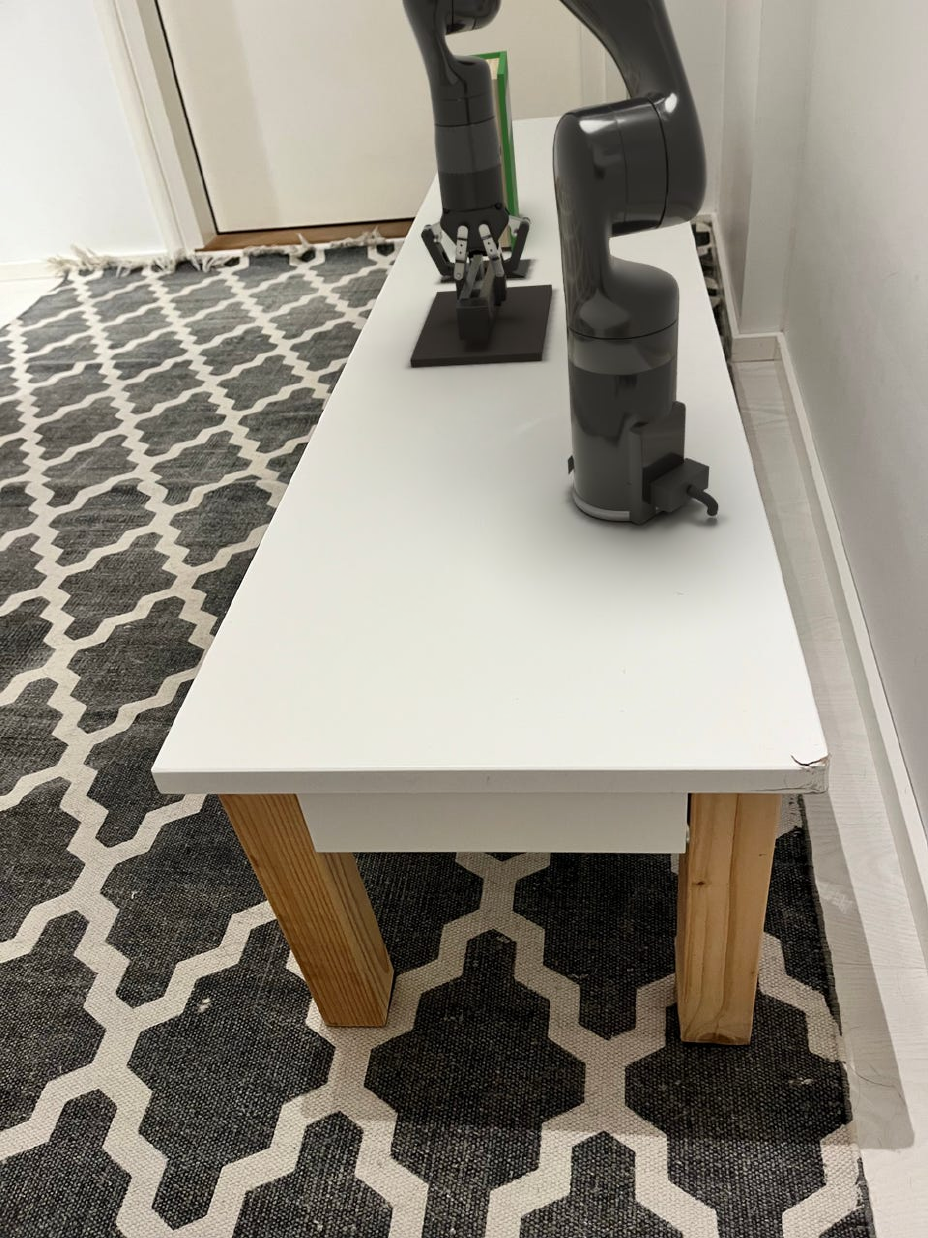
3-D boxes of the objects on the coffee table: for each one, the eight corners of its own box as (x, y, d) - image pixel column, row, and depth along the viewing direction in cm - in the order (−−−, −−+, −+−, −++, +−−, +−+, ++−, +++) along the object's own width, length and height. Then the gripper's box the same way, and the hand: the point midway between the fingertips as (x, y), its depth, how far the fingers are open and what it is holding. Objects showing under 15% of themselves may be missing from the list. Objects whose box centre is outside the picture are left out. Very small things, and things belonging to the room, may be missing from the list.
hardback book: (517, 251, 146) (503, 73, 131) (469, 256, 147) (449, 79, 132) (519, 215, 160) (506, 50, 145) (475, 219, 160) (457, 56, 145)
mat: (541, 360, 115) (541, 352, 115) (411, 367, 118) (410, 359, 117) (552, 291, 132) (551, 283, 131) (437, 298, 135) (436, 291, 134)
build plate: (440, 283, 139) (435, 251, 137) (449, 265, 145) (445, 234, 142) (525, 278, 137) (522, 245, 134) (531, 260, 142) (528, 228, 139)
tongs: (489, 338, 115) (485, 306, 113) (459, 340, 116) (455, 307, 114) (503, 282, 129) (500, 252, 127) (476, 284, 130) (473, 254, 127)
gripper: (403, 175, 111) (424, 319, 121) (526, 164, 108) (536, 313, 119) (414, 157, 116) (433, 297, 127) (531, 147, 114) (540, 290, 125)
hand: (483, 303), depth 123 cm, fingers closed on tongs, 3 cm apart
